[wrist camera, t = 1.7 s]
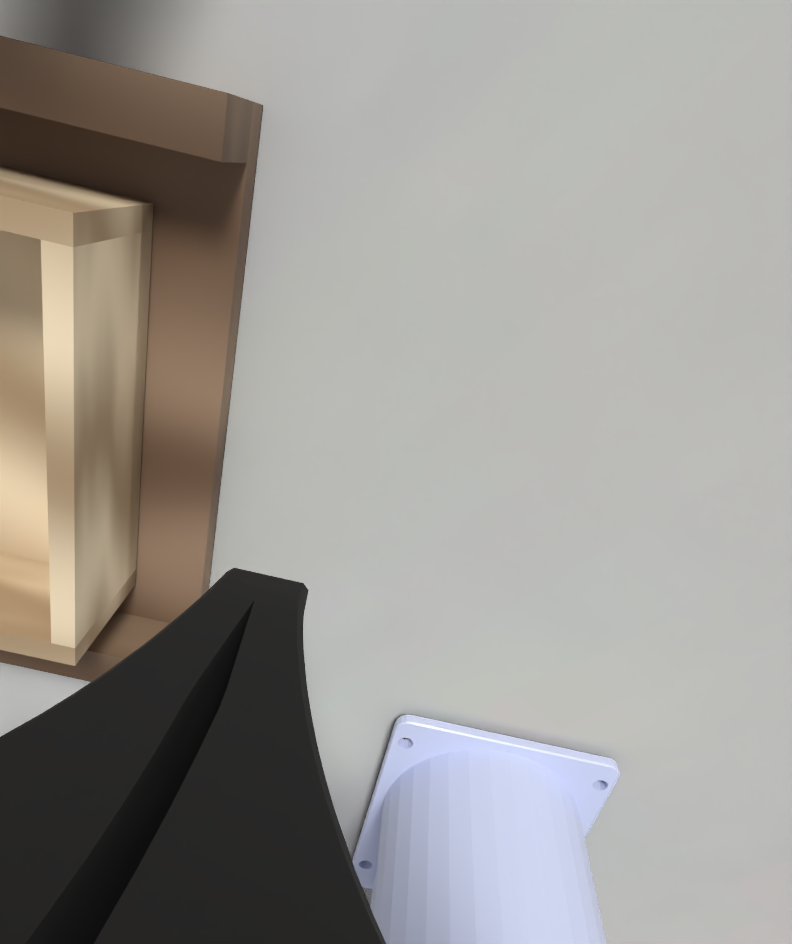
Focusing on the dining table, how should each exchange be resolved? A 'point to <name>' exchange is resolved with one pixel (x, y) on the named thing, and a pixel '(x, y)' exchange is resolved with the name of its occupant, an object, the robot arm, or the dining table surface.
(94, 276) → the light wooden drawer
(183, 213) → the bay
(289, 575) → the dining table surface
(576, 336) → the dining table surface
